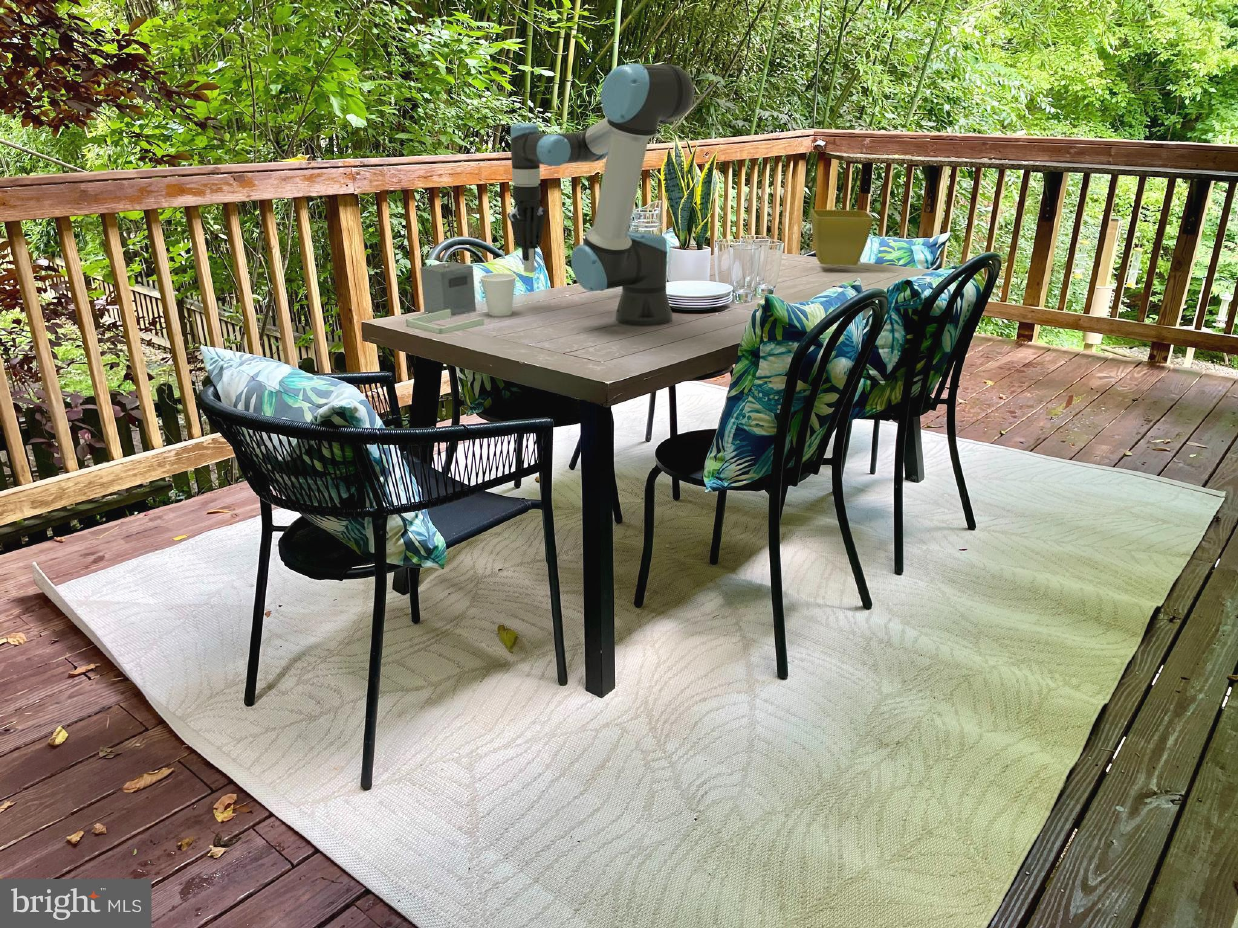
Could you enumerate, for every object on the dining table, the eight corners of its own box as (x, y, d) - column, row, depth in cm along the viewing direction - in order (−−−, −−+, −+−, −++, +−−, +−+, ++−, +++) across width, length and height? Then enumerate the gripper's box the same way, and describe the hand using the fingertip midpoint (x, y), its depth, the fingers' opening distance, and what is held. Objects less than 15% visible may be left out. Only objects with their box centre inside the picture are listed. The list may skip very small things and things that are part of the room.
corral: (484, 329, 234) (483, 317, 233) (441, 340, 224) (440, 328, 223) (449, 320, 242) (449, 309, 241) (407, 330, 233) (405, 319, 231)
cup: (515, 320, 242) (513, 280, 237) (479, 320, 242) (476, 280, 237) (520, 311, 251) (518, 272, 246) (485, 311, 251) (482, 272, 247)
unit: (476, 312, 250) (473, 263, 245) (445, 319, 243) (441, 269, 237) (454, 307, 256) (451, 259, 251) (423, 314, 249) (419, 265, 243)
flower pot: (860, 257, 323) (865, 209, 316) (868, 268, 305) (874, 217, 299) (807, 256, 325) (810, 209, 318) (812, 267, 307) (816, 217, 300)
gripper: (534, 181, 248) (536, 266, 257) (499, 185, 239) (503, 273, 249) (553, 183, 243) (555, 270, 253) (518, 188, 234) (521, 277, 244)
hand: (529, 271), depth 251 cm, fingers closed
